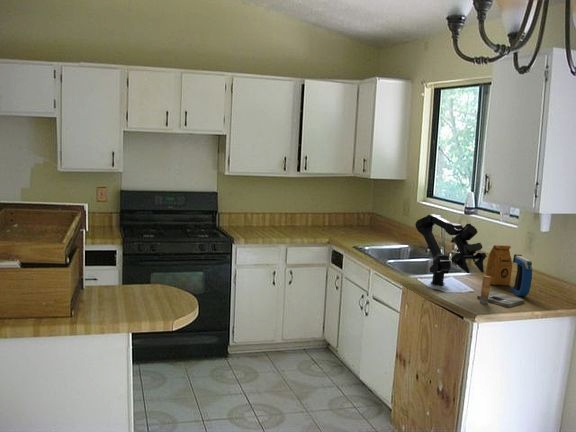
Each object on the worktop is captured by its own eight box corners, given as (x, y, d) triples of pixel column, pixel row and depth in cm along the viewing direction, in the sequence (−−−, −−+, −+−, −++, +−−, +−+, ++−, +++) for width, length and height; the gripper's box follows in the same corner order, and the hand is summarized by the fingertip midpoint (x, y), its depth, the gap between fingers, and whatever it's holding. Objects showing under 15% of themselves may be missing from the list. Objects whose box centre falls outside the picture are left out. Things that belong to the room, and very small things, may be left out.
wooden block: (480, 301, 285) (483, 275, 283) (487, 302, 284) (491, 276, 282) (479, 303, 282) (483, 276, 280) (487, 304, 280) (491, 278, 278)
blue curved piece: (516, 290, 313) (521, 254, 310) (529, 299, 297) (534, 261, 294) (508, 289, 313) (512, 253, 310) (520, 298, 297) (525, 260, 294)
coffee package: (512, 286, 320) (518, 247, 317) (492, 286, 317) (498, 246, 314) (501, 281, 330) (506, 243, 327) (482, 281, 327) (487, 242, 323)
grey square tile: (477, 298, 290) (477, 295, 290) (494, 294, 301) (494, 291, 301) (507, 307, 278) (507, 304, 278) (524, 302, 289) (524, 299, 289)
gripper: (458, 236, 285) (471, 264, 277) (486, 236, 294) (500, 263, 286) (445, 249, 293) (457, 276, 285) (473, 248, 302) (486, 275, 294)
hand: (475, 272), depth 287 cm, fingers open, 9 cm apart
